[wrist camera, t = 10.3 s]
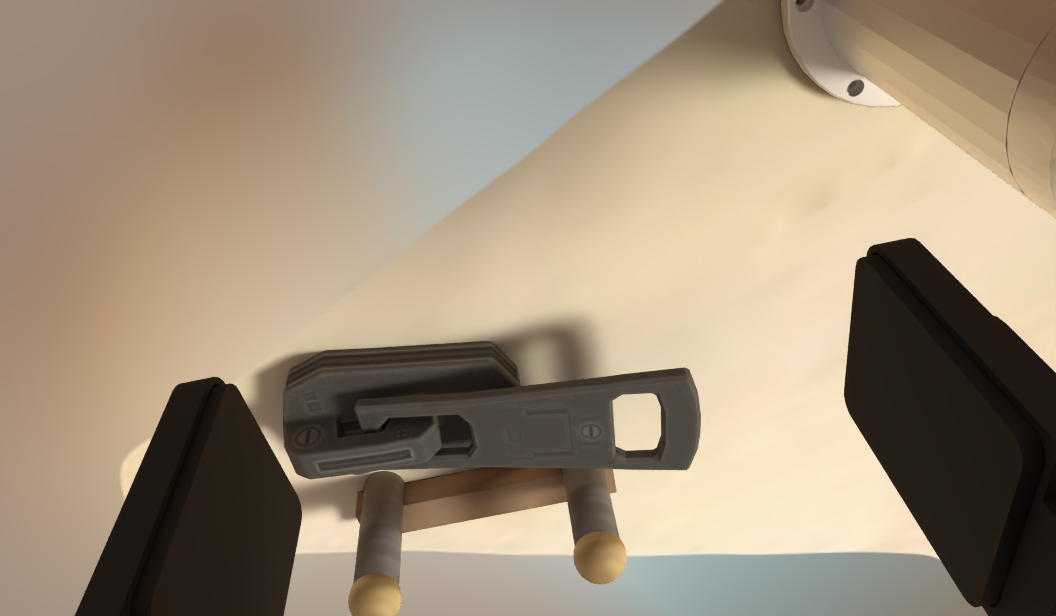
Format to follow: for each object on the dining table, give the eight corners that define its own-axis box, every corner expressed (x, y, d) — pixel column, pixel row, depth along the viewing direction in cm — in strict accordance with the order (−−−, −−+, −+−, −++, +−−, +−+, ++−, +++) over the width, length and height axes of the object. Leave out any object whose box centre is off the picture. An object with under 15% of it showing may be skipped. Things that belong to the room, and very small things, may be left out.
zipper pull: (701, 477, 46) (297, 538, 46) (674, 403, 52) (312, 457, 51) (704, 367, 41) (247, 435, 41) (674, 297, 46) (270, 357, 46)
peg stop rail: (604, 426, 52) (635, 556, 43) (611, 470, 55) (642, 601, 46) (350, 475, 53) (331, 613, 44) (370, 517, 55) (356, 654, 47)
